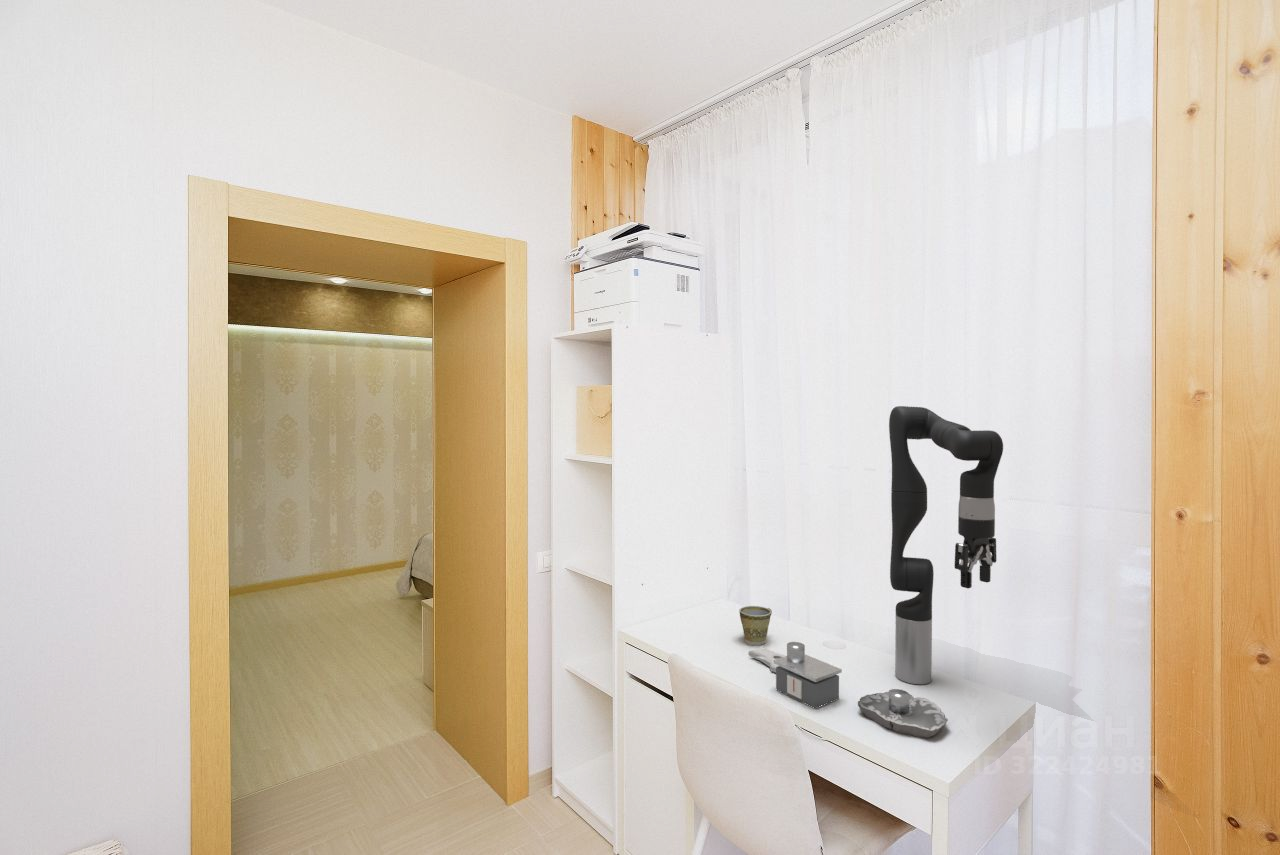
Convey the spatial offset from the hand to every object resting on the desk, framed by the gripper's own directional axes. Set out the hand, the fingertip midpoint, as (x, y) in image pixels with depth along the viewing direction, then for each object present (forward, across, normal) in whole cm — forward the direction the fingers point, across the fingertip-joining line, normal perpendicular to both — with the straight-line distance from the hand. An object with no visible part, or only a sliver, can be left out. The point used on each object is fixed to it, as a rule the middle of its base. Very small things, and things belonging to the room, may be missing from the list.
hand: (975, 584), depth 146 cm
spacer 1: (+25, -20, +37) cm, 49 cm away
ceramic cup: (+33, -4, +67) cm, 75 cm away
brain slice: (+34, -11, +11) cm, 37 cm away
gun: (+34, -13, +50) cm, 62 cm away
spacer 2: (+31, -13, +11) cm, 35 cm away
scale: (+33, -20, +33) cm, 51 cm away
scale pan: (+26, -20, +33) cm, 47 cm away
